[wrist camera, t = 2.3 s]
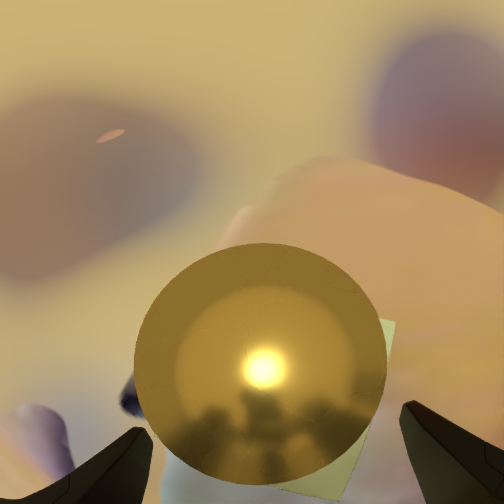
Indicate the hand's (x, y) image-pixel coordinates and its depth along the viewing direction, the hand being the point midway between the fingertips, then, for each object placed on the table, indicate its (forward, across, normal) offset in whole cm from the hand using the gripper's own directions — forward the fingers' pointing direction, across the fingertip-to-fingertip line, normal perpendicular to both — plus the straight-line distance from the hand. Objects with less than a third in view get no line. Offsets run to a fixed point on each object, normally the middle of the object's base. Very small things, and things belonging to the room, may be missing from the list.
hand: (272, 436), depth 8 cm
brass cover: (+8, 0, +5) cm, 10 cm away
